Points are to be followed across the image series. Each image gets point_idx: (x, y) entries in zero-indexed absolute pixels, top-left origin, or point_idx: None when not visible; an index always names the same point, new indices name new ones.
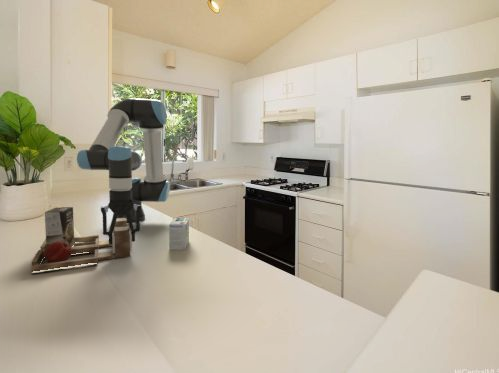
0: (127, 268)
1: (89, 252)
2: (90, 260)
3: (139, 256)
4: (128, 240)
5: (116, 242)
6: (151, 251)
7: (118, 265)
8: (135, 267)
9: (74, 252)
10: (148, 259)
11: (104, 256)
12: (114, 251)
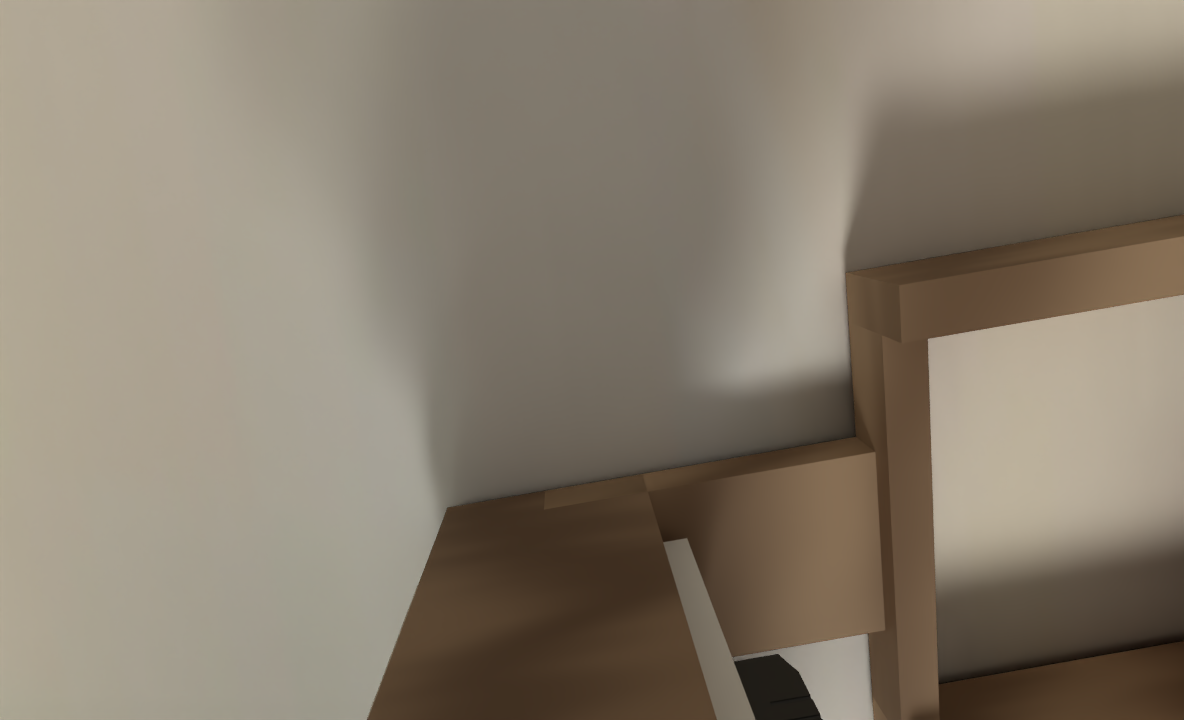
0: (422, 68)
1: (981, 690)
2: (983, 266)
3: (323, 495)
4: (409, 681)
5: (654, 627)
6: (182, 646)
7: (568, 220)
8: (308, 78)
9: (1170, 678)
10: (167, 356)
11: (790, 479)
12: (668, 558)
